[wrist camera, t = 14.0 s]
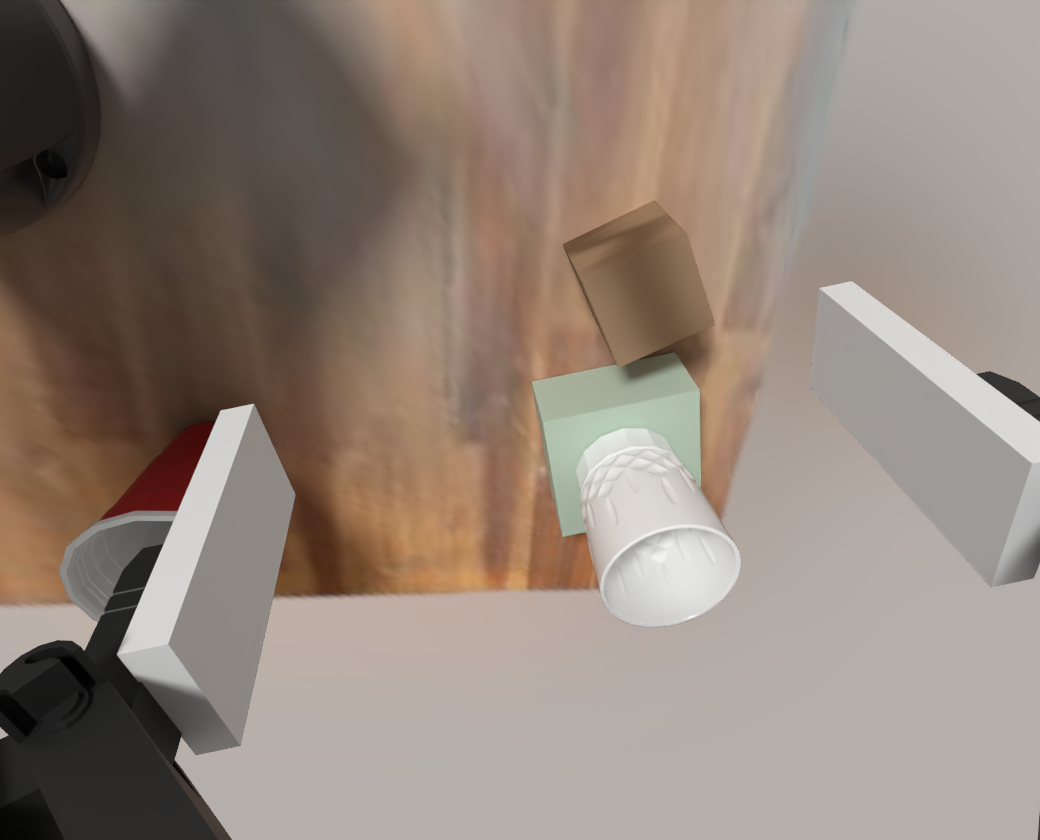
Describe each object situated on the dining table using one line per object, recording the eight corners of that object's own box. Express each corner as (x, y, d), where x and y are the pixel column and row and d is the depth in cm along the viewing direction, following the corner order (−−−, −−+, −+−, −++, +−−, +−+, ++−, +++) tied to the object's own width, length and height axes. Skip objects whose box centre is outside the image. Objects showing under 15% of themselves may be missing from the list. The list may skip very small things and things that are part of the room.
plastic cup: (165, 526, 50) (104, 666, 40) (107, 400, 44) (18, 529, 34) (317, 507, 51) (293, 640, 41) (280, 381, 45) (242, 502, 35)
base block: (551, 491, 53) (562, 536, 49) (531, 381, 47) (542, 422, 43) (679, 465, 53) (701, 508, 49) (674, 352, 47) (699, 390, 43)
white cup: (544, 490, 46) (572, 606, 38) (610, 400, 43) (657, 506, 35) (637, 526, 49) (682, 641, 41) (706, 444, 46) (770, 552, 38)
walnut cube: (596, 323, 46) (618, 367, 41) (562, 243, 42) (582, 282, 37) (681, 283, 45) (715, 324, 40) (653, 199, 42) (686, 233, 37)
